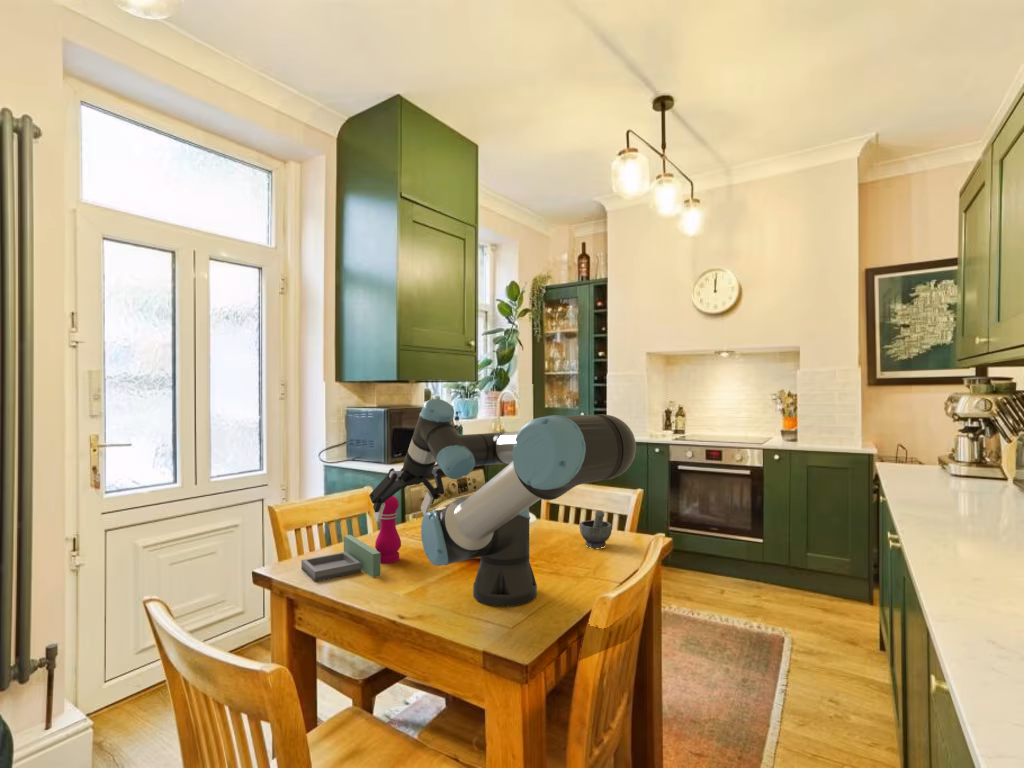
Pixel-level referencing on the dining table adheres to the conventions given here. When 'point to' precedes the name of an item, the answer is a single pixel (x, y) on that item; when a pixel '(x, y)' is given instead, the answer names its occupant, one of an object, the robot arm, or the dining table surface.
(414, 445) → the robot arm
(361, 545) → the board
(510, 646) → the dining table surface
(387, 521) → the pepper mill
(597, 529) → the mortar and pestle
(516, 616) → the dining table surface
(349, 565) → the tray
